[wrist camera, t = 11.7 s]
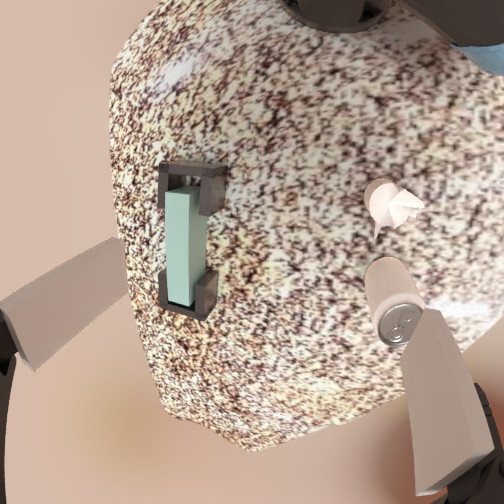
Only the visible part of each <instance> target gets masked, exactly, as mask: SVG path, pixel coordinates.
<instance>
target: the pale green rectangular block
mask: <svg viewBox="0 0 504 504" xmlns="http://www.w3.org/2000/svg"><path fill="white" fill-rule="evenodd" d="M199 201H200V187H198V186H189V185H186V186H183V187H179V188H176V189H173V190H170V191H167V192H165V241H166V270H167V288H168V300H169V301H172V302H176V303H179V304H183V305H186V306H190V305H191V304H192V303H193V301H194V300H195V288H196V283H197V282H198V281H199V280H200V279H201V278H202V277H203V276H204V275H205V268H206V233H207V216H203V215H199Z"/></svg>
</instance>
